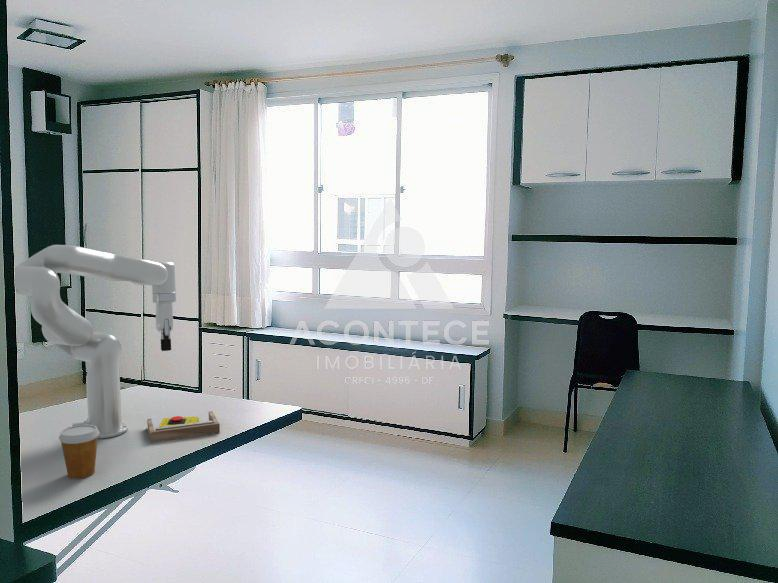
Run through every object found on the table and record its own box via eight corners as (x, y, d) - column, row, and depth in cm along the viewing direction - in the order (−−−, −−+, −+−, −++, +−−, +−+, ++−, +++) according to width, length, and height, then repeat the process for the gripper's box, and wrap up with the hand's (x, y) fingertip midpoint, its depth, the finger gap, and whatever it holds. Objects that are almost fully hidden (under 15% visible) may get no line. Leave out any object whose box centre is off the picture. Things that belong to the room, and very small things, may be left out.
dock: (147, 428, 199) (147, 419, 198) (212, 419, 207) (212, 411, 207) (150, 442, 186) (150, 432, 186) (219, 432, 194) (219, 423, 194)
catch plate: (155, 437, 189) (155, 427, 189) (212, 429, 196) (212, 420, 196) (156, 438, 188) (155, 429, 188) (213, 430, 195) (212, 421, 195)
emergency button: (157, 414, 200) (205, 412, 203) (158, 427, 201) (206, 425, 204) (153, 423, 191) (203, 420, 194) (153, 437, 192) (203, 434, 195)
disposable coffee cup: (73, 466, 167) (71, 423, 166) (107, 467, 167) (105, 424, 165) (53, 481, 158) (50, 435, 156) (89, 481, 157) (87, 436, 156)
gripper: (151, 295, 216) (152, 347, 218) (154, 300, 203) (156, 355, 205) (173, 294, 219) (175, 345, 221) (178, 299, 206) (179, 353, 208)
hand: (166, 350), depth 213 cm, fingers closed
